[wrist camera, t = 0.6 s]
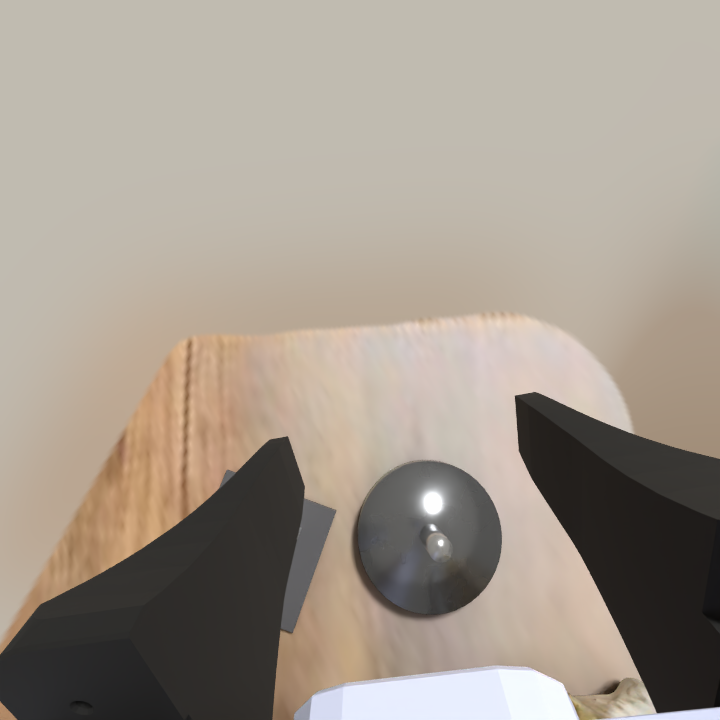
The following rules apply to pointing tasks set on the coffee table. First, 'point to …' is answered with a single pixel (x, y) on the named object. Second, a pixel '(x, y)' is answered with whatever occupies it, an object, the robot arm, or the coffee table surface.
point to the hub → (429, 537)
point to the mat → (303, 556)
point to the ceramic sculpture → (615, 702)
